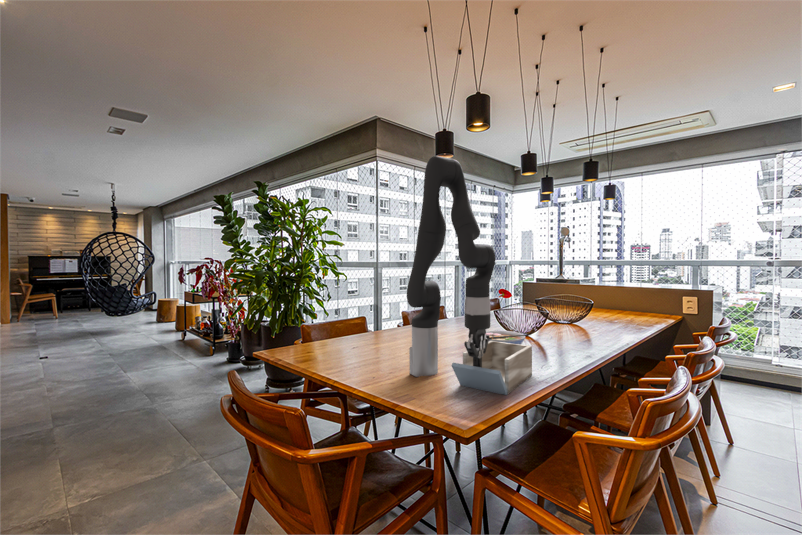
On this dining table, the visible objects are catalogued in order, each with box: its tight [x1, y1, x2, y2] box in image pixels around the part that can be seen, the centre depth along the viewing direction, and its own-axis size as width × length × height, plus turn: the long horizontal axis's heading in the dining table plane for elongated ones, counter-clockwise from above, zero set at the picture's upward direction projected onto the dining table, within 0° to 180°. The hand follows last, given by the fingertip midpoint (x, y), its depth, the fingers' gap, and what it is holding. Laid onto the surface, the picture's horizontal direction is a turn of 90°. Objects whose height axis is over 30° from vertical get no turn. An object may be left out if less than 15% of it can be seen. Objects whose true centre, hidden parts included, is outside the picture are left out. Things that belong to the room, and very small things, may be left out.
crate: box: [462, 341, 533, 395], centre depth 124 cm, size 15×22×11 cm
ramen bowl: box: [486, 329, 532, 345], centre depth 167 cm, size 25×23×8 cm
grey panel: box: [451, 362, 509, 396], centre depth 113 cm, size 15×1×11 cm
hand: (477, 369), depth 112 cm, fingers closed
